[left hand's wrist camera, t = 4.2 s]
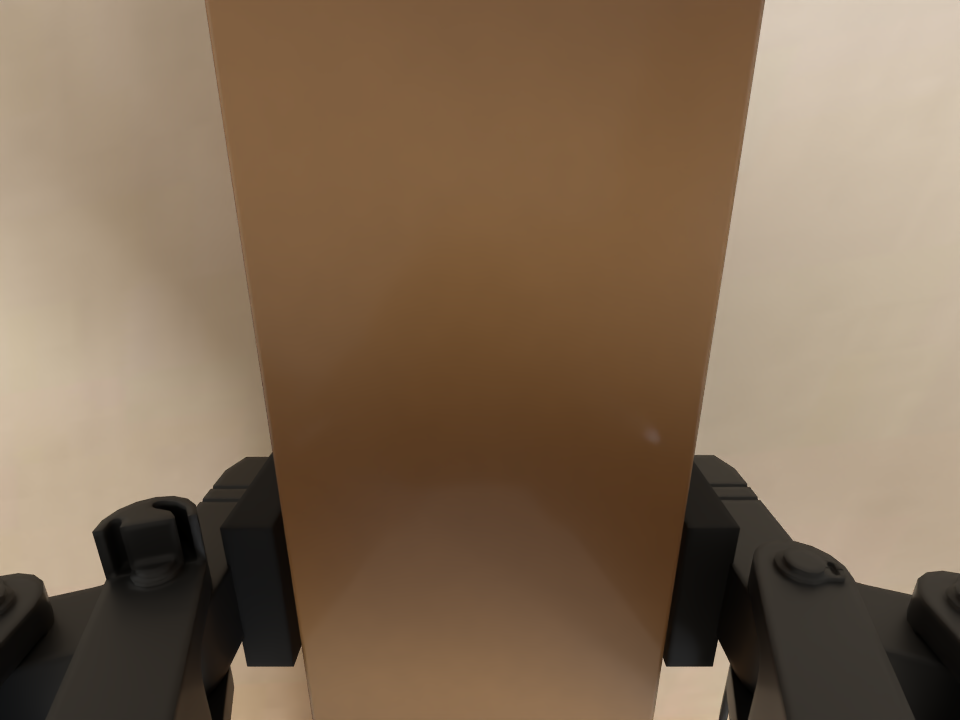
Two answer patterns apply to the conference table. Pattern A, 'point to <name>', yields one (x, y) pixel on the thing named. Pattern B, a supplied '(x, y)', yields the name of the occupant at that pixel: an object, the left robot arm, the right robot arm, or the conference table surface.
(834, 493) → the conference table surface
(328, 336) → the beam
